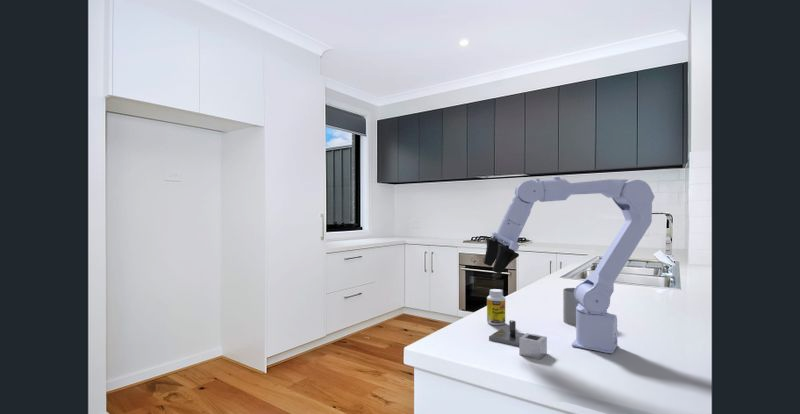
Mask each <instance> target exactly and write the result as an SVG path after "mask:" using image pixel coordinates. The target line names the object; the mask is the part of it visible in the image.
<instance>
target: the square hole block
mask: <svg viewBox="0 0 800 414" xmlns="http://www.w3.org/2000/svg"><path fill="white" fill-rule="evenodd" d="M524 334H525V335H523V336H522V337H520V338H519V346H518V348H519V355H520V356H524V357H527V358H533V359H536V360H541V359H542V358H544V357H545V355H547V354H548V351H547V350H548V344H547V343H548V336H544V335H539V334H534V333H533V334H532V333H529V332H526V333H524Z"/></svg>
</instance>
